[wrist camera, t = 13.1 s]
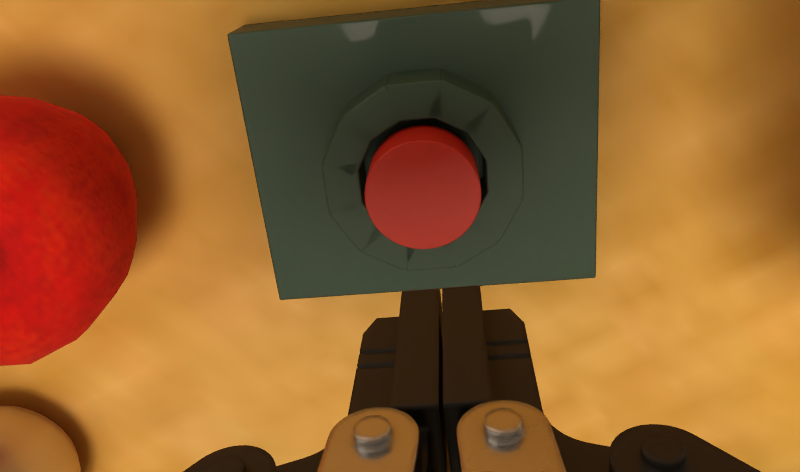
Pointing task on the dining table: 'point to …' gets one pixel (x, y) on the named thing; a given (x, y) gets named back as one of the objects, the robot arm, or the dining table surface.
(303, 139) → the dark grey base plate
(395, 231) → the button
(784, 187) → the dining table surface
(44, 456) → the plastic bottle
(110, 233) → the apple
